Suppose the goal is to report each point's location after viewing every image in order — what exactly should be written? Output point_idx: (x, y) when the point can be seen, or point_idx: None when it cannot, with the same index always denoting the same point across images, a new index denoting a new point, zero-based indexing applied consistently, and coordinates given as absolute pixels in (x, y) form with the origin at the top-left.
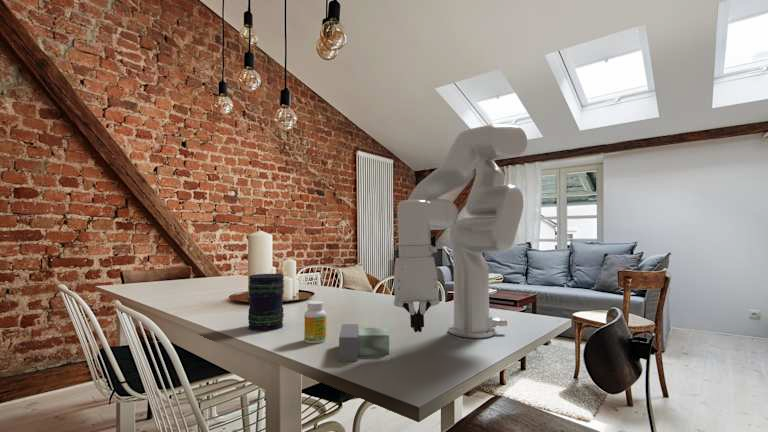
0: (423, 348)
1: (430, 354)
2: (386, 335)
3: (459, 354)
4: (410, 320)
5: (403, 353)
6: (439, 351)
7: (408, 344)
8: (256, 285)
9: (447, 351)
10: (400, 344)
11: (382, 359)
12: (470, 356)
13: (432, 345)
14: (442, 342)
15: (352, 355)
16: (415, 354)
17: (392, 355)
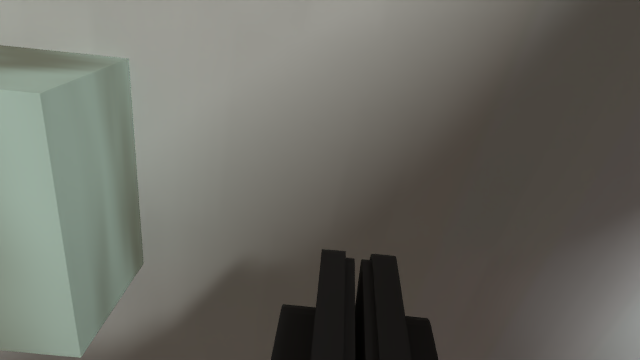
0: (403, 172)
1: (409, 294)
2: (58, 353)
3: (591, 315)
4: (273, 350)
5: (238, 257)
6: (492, 248)
7: (307, 51)
8: None
9: (546, 255)
10: (237, 42)
11: (106, 335)
12: (634, 351)
13: (502, 106)
14: (633, 26)
15: None
16: (313, 283)
17: (165, 282)
